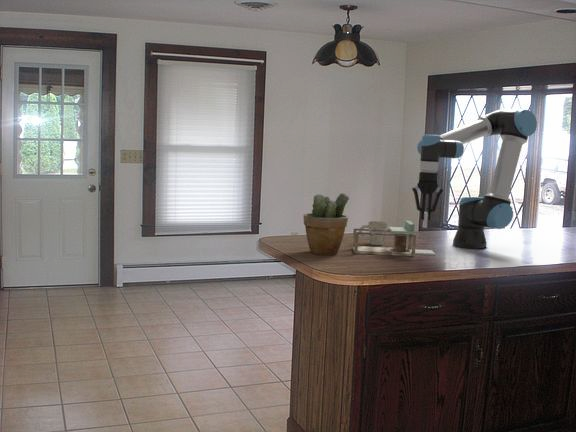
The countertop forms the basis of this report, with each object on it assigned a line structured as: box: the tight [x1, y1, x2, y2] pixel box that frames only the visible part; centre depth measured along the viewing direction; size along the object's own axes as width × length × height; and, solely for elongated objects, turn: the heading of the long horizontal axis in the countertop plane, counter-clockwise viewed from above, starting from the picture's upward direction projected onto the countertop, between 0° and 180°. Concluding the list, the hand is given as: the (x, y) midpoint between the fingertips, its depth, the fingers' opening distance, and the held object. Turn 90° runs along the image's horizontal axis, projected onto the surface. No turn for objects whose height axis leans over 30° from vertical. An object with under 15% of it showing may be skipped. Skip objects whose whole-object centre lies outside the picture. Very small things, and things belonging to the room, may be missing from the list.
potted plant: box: [302, 192, 350, 256], centre depth 284 cm, size 18×19×25 cm
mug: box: [358, 220, 388, 246], centre depth 314 cm, size 8×13×10 cm, turn 78°
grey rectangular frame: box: [351, 227, 417, 257], centre depth 293 cm, size 25×12×9 cm, turn 89°
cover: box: [388, 220, 416, 235], centre depth 292 cm, size 9×12×4 cm
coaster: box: [411, 248, 436, 256], centre depth 297 cm, size 9×9×1 cm
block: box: [393, 236, 408, 252], centre depth 293 cm, size 4×4×8 cm
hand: (424, 227), depth 291 cm, fingers closed
